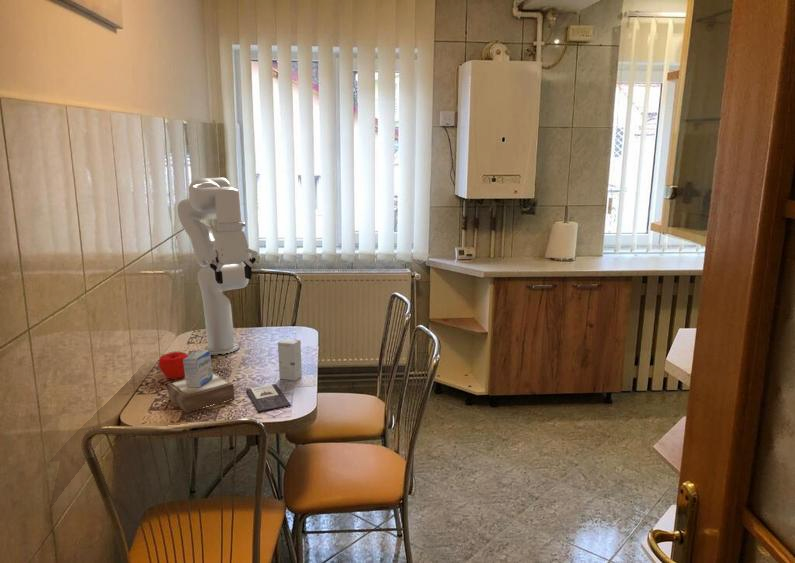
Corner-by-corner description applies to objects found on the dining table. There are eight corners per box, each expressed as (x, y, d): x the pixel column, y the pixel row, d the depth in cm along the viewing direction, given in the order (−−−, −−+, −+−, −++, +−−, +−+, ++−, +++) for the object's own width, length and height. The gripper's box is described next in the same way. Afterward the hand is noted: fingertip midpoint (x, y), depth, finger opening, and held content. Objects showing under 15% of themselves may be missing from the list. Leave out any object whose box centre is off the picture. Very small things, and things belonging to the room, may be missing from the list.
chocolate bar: (258, 411, 163) (246, 389, 179) (258, 414, 163) (246, 392, 179) (290, 404, 166) (276, 383, 182) (291, 407, 166) (276, 386, 183)
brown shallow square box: (169, 399, 175) (167, 383, 174) (215, 386, 183) (213, 371, 182) (186, 413, 164) (185, 396, 163) (234, 399, 173) (233, 383, 172)
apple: (158, 383, 187) (155, 360, 186) (164, 374, 196) (161, 351, 194) (187, 381, 189) (185, 357, 187) (192, 371, 197) (190, 349, 196)
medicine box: (200, 388, 169) (197, 359, 167) (185, 387, 169) (182, 358, 168) (213, 378, 176) (210, 350, 174) (199, 377, 177) (196, 349, 175)
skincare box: (279, 379, 188) (276, 342, 185) (286, 374, 192) (283, 338, 189) (296, 381, 186) (293, 343, 183) (303, 376, 190) (300, 339, 187)
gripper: (249, 224, 196) (253, 275, 199) (198, 229, 185) (203, 283, 189) (260, 225, 190) (264, 278, 194) (207, 231, 180) (213, 286, 183)
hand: (234, 280), depth 191 cm, fingers open, 9 cm apart
